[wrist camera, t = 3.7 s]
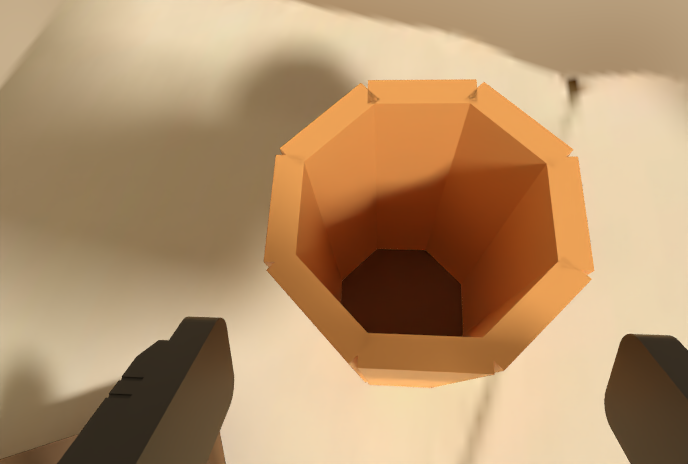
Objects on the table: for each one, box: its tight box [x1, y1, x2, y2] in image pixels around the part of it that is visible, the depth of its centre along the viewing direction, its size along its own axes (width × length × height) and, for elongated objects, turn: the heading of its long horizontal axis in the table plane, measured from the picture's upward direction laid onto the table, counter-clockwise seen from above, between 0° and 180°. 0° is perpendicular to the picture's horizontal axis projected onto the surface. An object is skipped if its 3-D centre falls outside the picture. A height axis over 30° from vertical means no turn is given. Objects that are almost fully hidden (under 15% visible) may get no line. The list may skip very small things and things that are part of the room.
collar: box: [264, 79, 594, 388], centre depth 13 cm, size 6×6×10 cm
